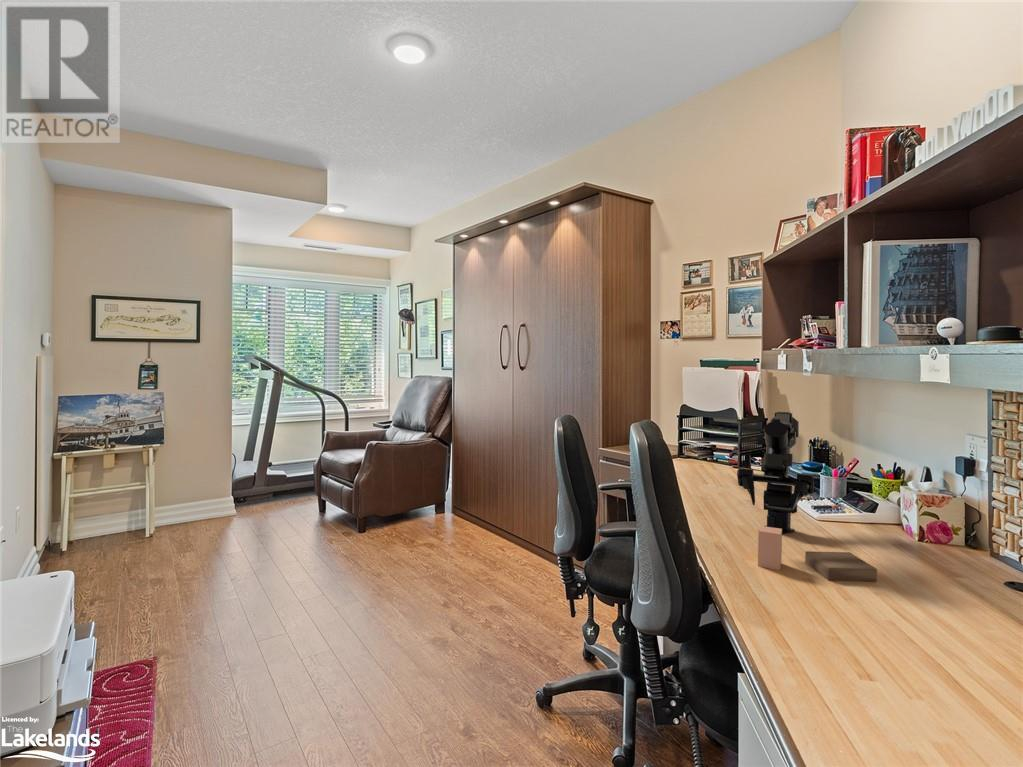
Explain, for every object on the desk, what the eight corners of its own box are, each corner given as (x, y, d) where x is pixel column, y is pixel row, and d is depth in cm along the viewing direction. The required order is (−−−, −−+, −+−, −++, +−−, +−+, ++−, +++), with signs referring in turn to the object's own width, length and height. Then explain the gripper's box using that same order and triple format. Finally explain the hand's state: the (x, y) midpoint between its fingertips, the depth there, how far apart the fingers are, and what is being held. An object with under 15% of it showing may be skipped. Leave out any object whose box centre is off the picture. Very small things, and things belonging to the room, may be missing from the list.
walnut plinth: (805, 562, 135) (805, 551, 135) (849, 563, 135) (849, 552, 135) (828, 580, 124) (828, 567, 124) (876, 581, 124) (877, 569, 124)
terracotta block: (759, 559, 138) (760, 525, 137) (781, 563, 135) (782, 528, 135) (757, 566, 133) (758, 531, 133) (780, 570, 131) (780, 534, 130)
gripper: (738, 439, 149) (732, 485, 140) (814, 444, 139) (812, 494, 130) (741, 462, 156) (735, 508, 147) (814, 469, 146) (812, 518, 137)
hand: (772, 506), depth 140 cm, fingers open, 9 cm apart
